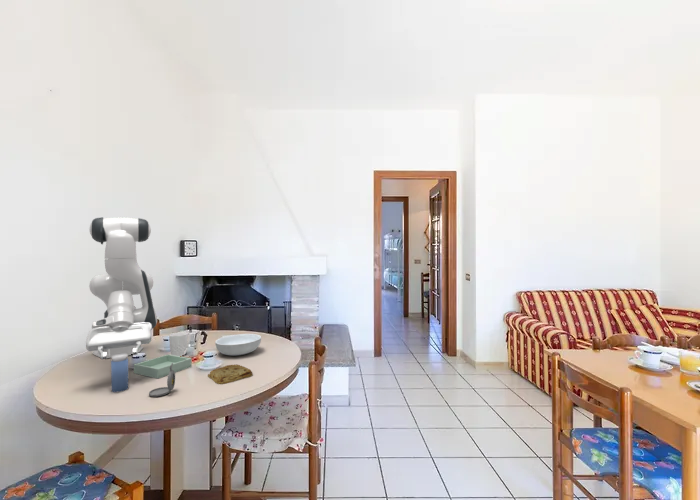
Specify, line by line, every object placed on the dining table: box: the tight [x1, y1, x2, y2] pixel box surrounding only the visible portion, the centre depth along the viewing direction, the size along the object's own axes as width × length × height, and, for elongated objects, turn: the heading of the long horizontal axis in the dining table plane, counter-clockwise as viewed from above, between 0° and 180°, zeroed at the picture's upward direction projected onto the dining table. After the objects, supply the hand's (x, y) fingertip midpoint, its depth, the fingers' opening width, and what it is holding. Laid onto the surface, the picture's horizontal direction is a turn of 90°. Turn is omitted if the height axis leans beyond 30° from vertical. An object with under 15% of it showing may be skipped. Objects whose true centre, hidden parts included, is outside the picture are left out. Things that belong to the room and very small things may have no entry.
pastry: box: [207, 364, 253, 385], centre depth 134 cm, size 17×17×3 cm
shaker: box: [110, 353, 129, 393], centre depth 122 cm, size 5×5×12 cm
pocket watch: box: [148, 363, 176, 398], centre depth 118 cm, size 8×8×10 cm
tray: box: [133, 353, 193, 379], centre depth 142 cm, size 15×15×4 cm
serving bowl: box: [214, 333, 262, 357], centre depth 165 cm, size 21×21×7 cm
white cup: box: [168, 331, 189, 357], centre depth 163 cm, size 8×8×10 cm
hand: (119, 356), depth 124 cm, fingers open, 8 cm apart
